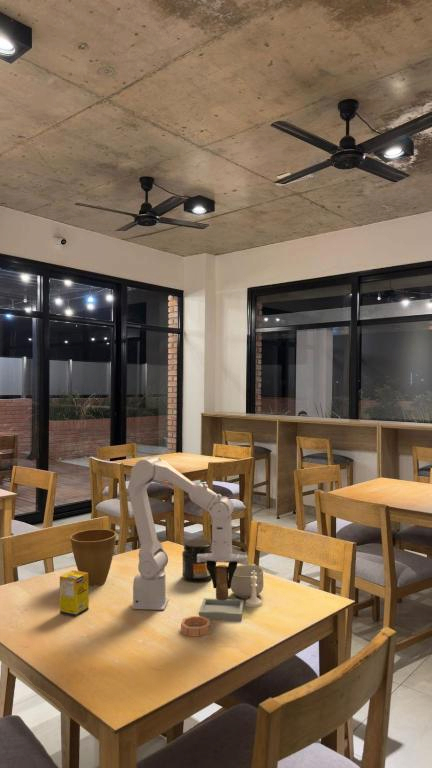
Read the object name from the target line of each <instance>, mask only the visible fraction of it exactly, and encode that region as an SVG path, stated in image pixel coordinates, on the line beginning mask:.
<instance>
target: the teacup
mask: <svg viewBox="0 0 432 768" xmlns="http://www.w3.org/2000/svg"><path fill="white" fill-rule="evenodd" d="M253 570H255V573H257V575H256V574H255V576H257V580H256V584H257V585H258V586H256V596H257V597H258V596H259V594H261V592H262V591H263V590H264V568H262V567H261V566H258V565H257V564H255V563H250V564H243V565H242V564H241V565H237V568H236V570H235V572H234V575H233V577H232V581H231V588H230V589H231V592H232V593H233V594H234V595H235V596H237V597H238V598H240V599H246V600H247V599H250V598H251V595H252V586H250V585H251V584H252V580H251V576H253V574H251V572H253Z"/></svg>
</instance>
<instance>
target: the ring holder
mask: <svg viewBox="0 0 432 768" xmlns="http://www.w3.org/2000/svg"><path fill="white" fill-rule="evenodd" d="M192 625H198V627H197V626H195V627H194V626H192ZM210 630H211V619H207V618H205V617H203V616H199V615H191V616H188V617H185V618H183V619H182V620H181V623H180V631H181V633H182V634H184V635H186V636H188V637H203V636H204V635H207V634H209V633H210Z"/></svg>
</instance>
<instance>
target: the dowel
mask: <svg viewBox="0 0 432 768" xmlns="http://www.w3.org/2000/svg"><path fill="white" fill-rule="evenodd" d="M215 599H217V600H227V599H229V589H228V565H225V564H218V565H216V588H215Z"/></svg>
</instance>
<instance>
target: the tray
mask: <svg viewBox="0 0 432 768" xmlns="http://www.w3.org/2000/svg"><path fill="white" fill-rule="evenodd" d="M244 601H245V600H244V599H236V598H235V599H234V598H233V599H231V598H228V599H227V600H217V599H216V598H208V597H206V598H205V597H204V598H203V600H202V603H201V605H200V608H199V611H198V616H203V617H205V618H207V619H209V620H223V621H224V620H226V621H242V620H243V614H244V613H243V612H244V606H245V604H244V603H245V602H244Z"/></svg>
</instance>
